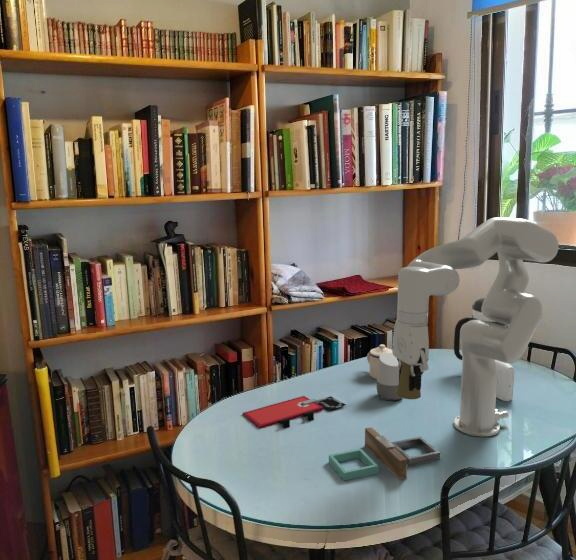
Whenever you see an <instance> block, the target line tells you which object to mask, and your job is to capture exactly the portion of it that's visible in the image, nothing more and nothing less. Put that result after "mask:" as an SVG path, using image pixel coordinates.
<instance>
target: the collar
mask: <svg viewBox="0 0 576 560" xmlns="http://www.w3.org/2000/svg"><path fill="white" fill-rule="evenodd" d="M358 458H359V459H360V460H361V461H362V462H363V463H364V464H365V465H366V466H362V467H357V468H353V469H349V470H346V469H345V468H344V467H343V466H342V465H341V463H340V462H344V461H349V460H354V459H358ZM328 463H329V464H330V465H331V466H332V468H333V469H334V470H335V471H336V473H337V474H338V475H339V477H340V478H341V479H342V480H343V481H348V480H355V479H359V478H362V477H366V476H371V475H377V474H379V465H378V464H377V463H376V462H375V461H374V460H373V459H372V458H371V457H370V455H368V454H367V453H366V452H365V451H364V449H362V448H357V449H352V450H347V451H346V450H345V451H341V452H337V453H333V454H332V453H331V454H329V455H328Z"/></svg>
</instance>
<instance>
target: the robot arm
mask: <svg viewBox="0 0 576 560" xmlns="http://www.w3.org/2000/svg"><path fill="white" fill-rule="evenodd" d="M558 251H559V240H558V238H557V236H556V235H555V234H554V233H553V232H552V231H550V230H548V229H546V228H544V227H543V226H541V225H539V224H537V223H535V222H533V221H531V220H528V219H525V218H513V217H504V216H503V217H502V216H501V217H498V216H497V217H492V218H489V219H487V220H486V221H484V222H483V223H481V224H480V225H478V226H476V228H473V229H472V230H471V231H469V232H468V233H467V234H466V235H465V236H463V237H462V238H459V239H457V240H454V241H450V242H446V243H443V244H441V245H438V246H435V247H431V248H430V249H428V250H425V251H424V252H422V253H421V254H419V255H417V256H416V257H415V258H414V259H413V260H411V262H410V263H408V265H406V266H404V267H401V268H400V269H399V270H398V277H397V279H398V280H397V304H396V305H397V307H396V308H397V309H396V320H395V323H394V329H393V333H392V335H393V336H392V345H391V346H392V348H391V350H392V353H393V355H394V356H395V357H396V358H397V360H398V367H399V379H400V374H401V369H402V364H401V361H403V362H405V363H406V364H408V365H410V367H411V375H409V390H410V391H413V389H414V388H416V389H417V390H420V391H421V389H422V376H423V375H424V373H425V371H428V370H429V368H430V367H429V365H428V361H429V352H430V347H429V346H430V341H429V340H430V339H429V336H430V335H429V327H428V324H429V306H430V305H429V304H430V303H429V301H430V296H447V295H451V294H453V292H455V291H456V290H457V288H458V287H459V285H460V275H459V273H458V271H457V270H463V269H471V268H476V267H478V266H481V265H483V264H484V263H485V262H487V260H489V259H490V258H492V257H493V256H494V255H495V254H496V253H497V257H498V265H499V266H498V273H497V275H496V277H495V279H494V281H493V283H492V284H491V287H490V288H489V290H488V292H487V294H486V295H485V297H484V298H485V299H484V301H483V304H482V308H481V310H482V314H483V315H484V316H485V317H486V318H488V319H490V320H492V321H496V322H499V323H503V324H507V325H508V327H506V326H502V325H498V324H495V323H491V322H487V321H483V320H471V321H468V322H467V323H465V324H463V325H462V327H461V329H460V348H461V355H462V360H461V362H462V363H461V365H462V366H461V385H460V386H461V387H460V402H459V403H460V404H459V405H460V406H459V415H458V416H456V417H455V418H454V420H453V425H454V427H455V428H456V430H458V431H459V432H461V433H463V434H465V435H466V434H467V435H469V436H473V437H482V438H483V437H491V436H492V437H493V436H495V435H497V434H498V433H500V432H501V424H500V423H499V422H498V421H500V419H507V418H509V412H508V411H506V410H502V411H499V410H498V409H497V408H496V405H497V403H496V402H497V397H496V390H497V376H498V370H497V365H496V362H495V360H497V361H500V362H504V363H509V364H515V363H517V362H518V361H519V360H520V359H521V358H522V356H523V355H524V353H525V352H526V349H527V348H528V345H529V344H530V342H531V340H532V338H533V335H534V334H535V332H536V330H537V328H538V326H539V324H540V321H541V320H542V315H543V314H542V313H543V306H542V302H541V300H540V299H539V298H538V297H537V296H535V295H534V294H531V293H525V291H526V289H527V287H528V284H529V279H530V278H529V274H528V270H527V269H526V266H525V264H524V261H529V262H537V263H547V262H550V261H552V260H554V258H556V256H557V254H558ZM400 360H401V361H400ZM418 361H420V362H419V363H417V362H418ZM415 366H418V368H416V369H415Z"/></svg>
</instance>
